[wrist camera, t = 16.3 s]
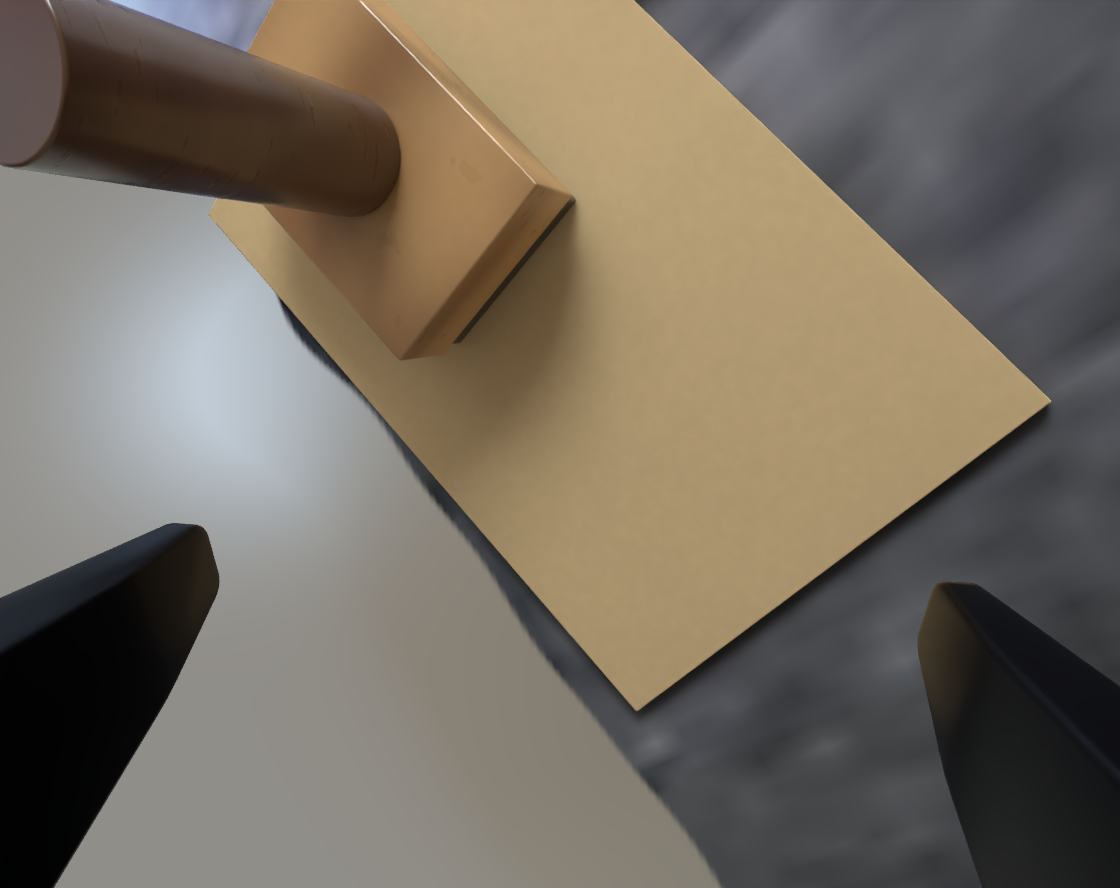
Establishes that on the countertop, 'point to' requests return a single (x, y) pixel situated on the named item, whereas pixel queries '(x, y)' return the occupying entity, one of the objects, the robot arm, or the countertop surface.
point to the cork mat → (665, 349)
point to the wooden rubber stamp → (294, 145)
